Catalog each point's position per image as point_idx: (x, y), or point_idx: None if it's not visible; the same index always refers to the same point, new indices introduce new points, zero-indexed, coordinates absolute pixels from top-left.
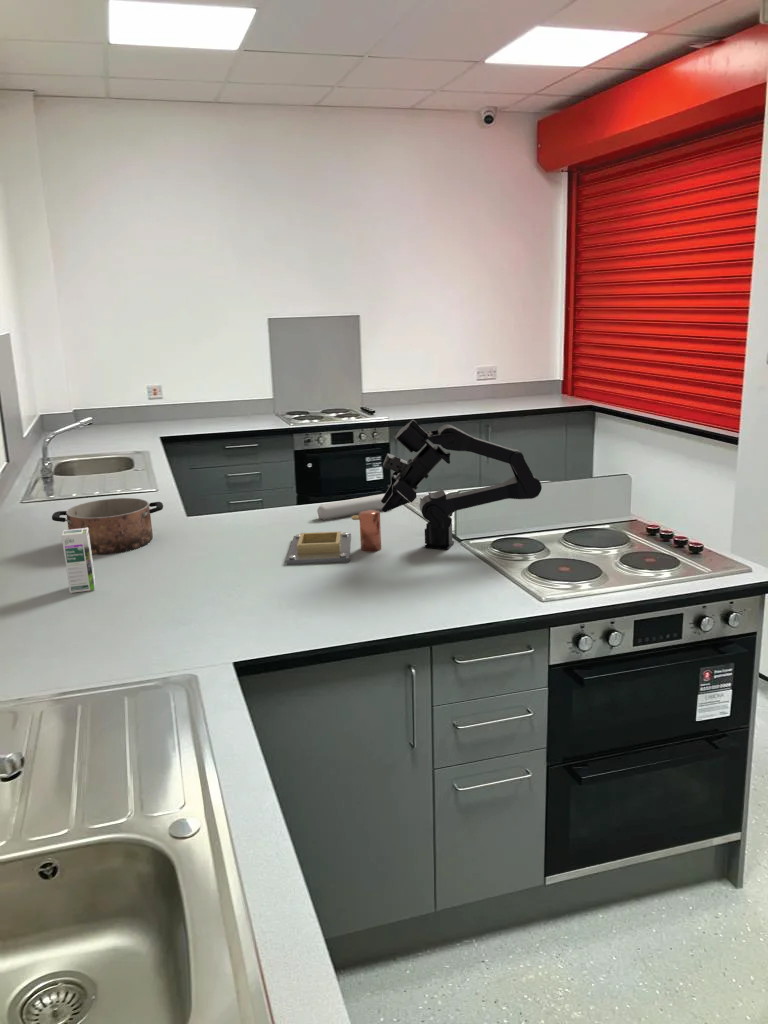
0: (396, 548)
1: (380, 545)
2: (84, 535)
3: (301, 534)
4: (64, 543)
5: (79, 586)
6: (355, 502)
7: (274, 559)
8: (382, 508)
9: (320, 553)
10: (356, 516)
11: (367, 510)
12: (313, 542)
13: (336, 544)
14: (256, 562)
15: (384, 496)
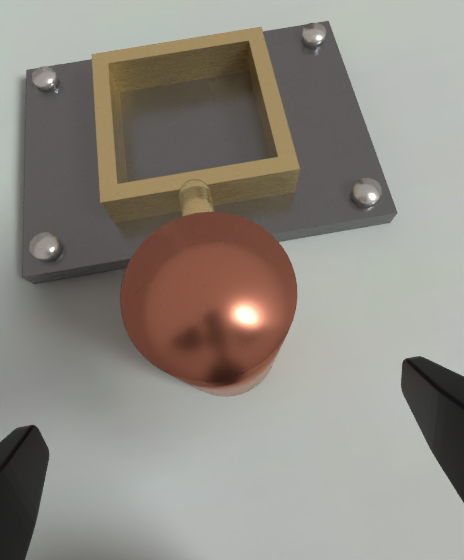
0: (235, 480)
1: (211, 393)
2: None
3: (241, 34)
4: None
5: None
6: None
7: (99, 39)
8: (2, 441)
9: (95, 156)
10: (185, 207)
11: (279, 260)
12: (244, 100)
13: (101, 193)
14: (73, 3)
15: (444, 398)
